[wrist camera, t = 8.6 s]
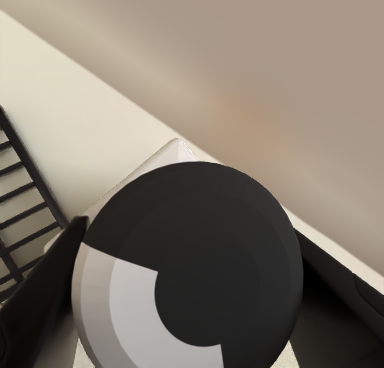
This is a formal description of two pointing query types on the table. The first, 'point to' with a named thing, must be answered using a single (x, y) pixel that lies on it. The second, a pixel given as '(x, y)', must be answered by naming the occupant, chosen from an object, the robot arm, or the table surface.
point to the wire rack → (3, 123)
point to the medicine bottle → (186, 269)
